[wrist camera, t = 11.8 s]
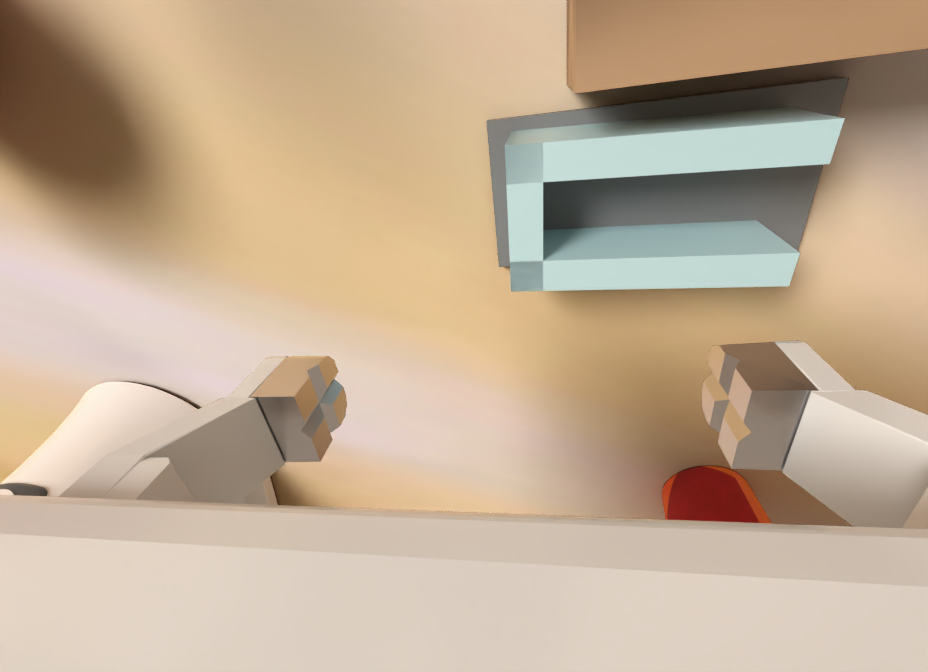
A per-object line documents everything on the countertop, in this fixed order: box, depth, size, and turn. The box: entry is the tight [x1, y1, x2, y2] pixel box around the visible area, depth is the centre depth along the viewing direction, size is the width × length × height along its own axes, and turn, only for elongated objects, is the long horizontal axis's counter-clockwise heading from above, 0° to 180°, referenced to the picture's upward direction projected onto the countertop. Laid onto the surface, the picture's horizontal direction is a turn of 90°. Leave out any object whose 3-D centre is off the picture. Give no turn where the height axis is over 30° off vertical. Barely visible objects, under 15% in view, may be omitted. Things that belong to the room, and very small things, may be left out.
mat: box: [487, 77, 849, 267], centre depth 20 cm, size 7×14×1 cm, turn 97°
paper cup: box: [662, 466, 772, 524], centre depth 24 cm, size 8×8×14 cm
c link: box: [505, 107, 845, 291], centre depth 18 cm, size 11×6×4 cm, turn 96°
